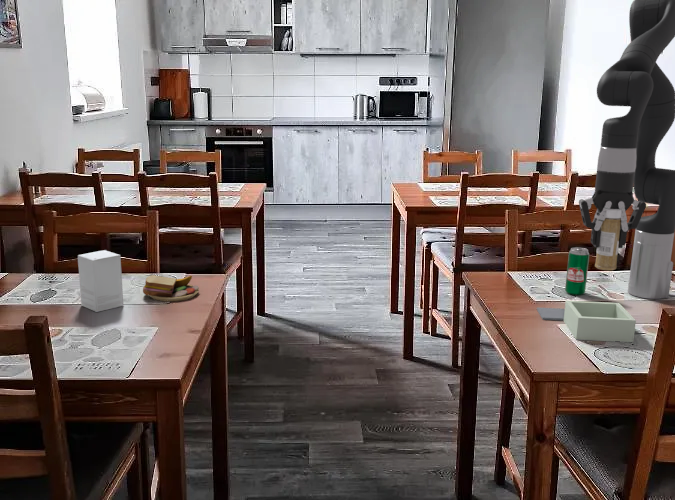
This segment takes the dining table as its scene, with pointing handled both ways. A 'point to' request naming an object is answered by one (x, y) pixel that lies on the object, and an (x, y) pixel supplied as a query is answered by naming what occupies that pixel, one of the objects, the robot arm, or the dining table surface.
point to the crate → (599, 321)
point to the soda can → (577, 271)
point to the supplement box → (100, 280)
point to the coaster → (551, 313)
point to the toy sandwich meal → (169, 288)
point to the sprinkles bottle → (609, 241)
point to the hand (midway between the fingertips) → (607, 246)
